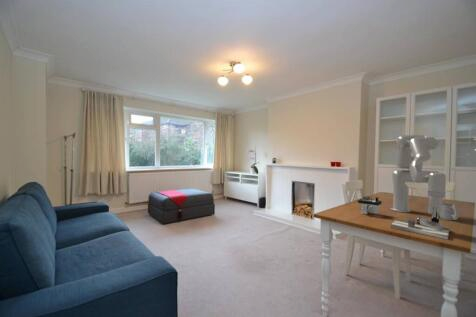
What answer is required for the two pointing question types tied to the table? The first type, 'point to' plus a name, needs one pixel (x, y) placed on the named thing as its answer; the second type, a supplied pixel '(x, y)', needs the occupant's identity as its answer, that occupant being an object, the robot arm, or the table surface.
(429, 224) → the bar
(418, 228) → the door board
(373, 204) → the black-topped pedestal
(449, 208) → the mug
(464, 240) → the table surface
